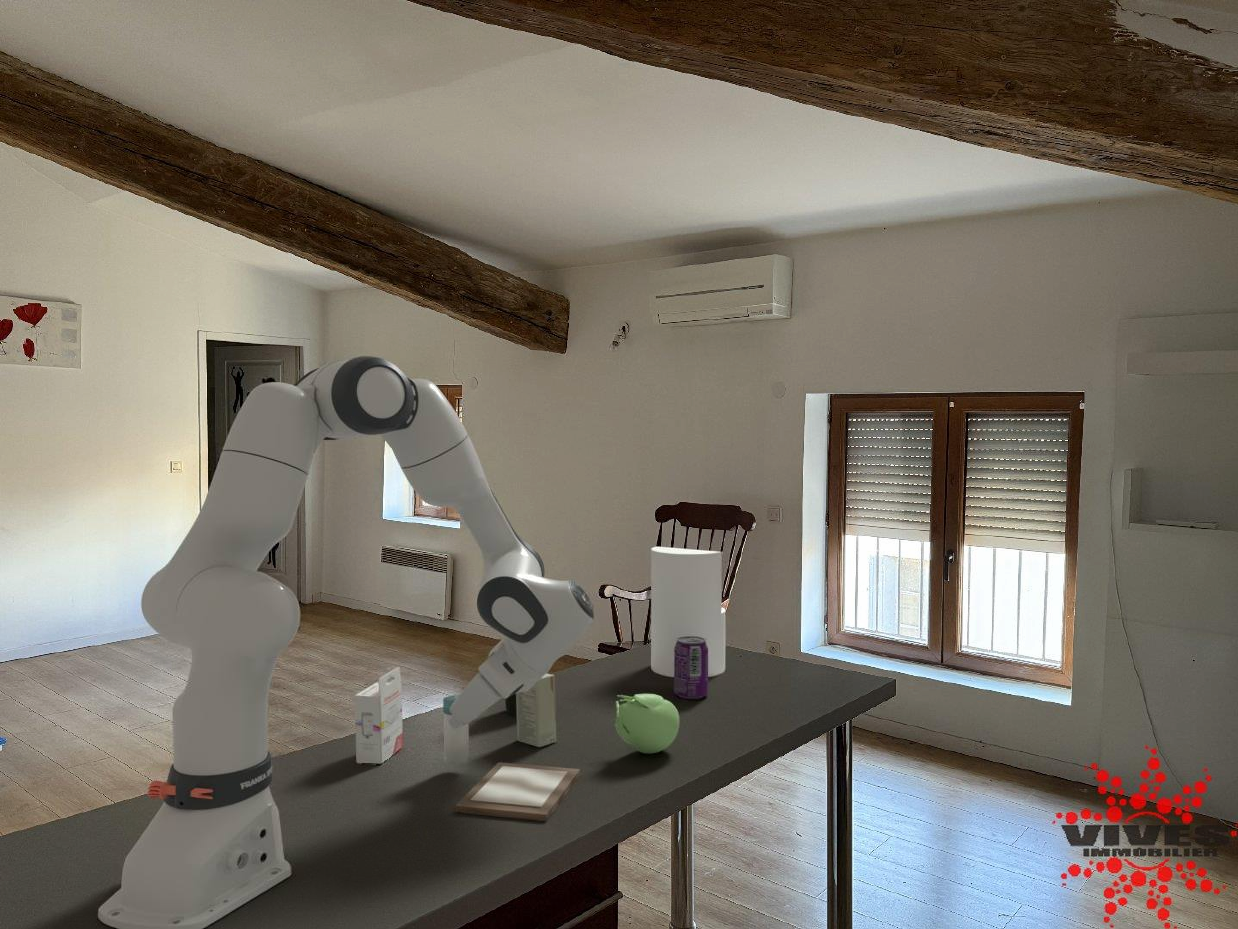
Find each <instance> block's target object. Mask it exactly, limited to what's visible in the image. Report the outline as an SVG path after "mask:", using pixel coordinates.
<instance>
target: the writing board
mask: <svg viewBox="0 0 1238 929" xmlns="http://www.w3.org/2000/svg"><path fill="white" fill-rule="evenodd" d="M580 776H581V769H580V768H579V769H578V768H568V767H559V766H545V765H534V764H523V763H521V764H520V763H509V762H500V761H498V762H497V763H496V764H495V765H494V766H493V767H492V768H491V769H490V770H489V771H488V772H487V773H486V774H485V775H484V776H483V777H482V778H481V779H480V781H478V782H477V783H476V784H475V785H474V786H473V787H472V789H470V791H469V792H467V794H465V795H464V796H463V798H461V799H460V800H459V801H458V803H457V804H455V806H454V807H455V810H454V812H455V813H457V812H460V813H459V814H467V815H477V816H488V817H498V818H500V817H501V818H510V819H517V820H527V821H528V820H531V821H538V822H539V821H541V822H547V821H548V820H549V819H550V818H551V816H552V815H553V813H554V812H555V811H556V809H557V808H558V807H559V805H560V804H561V802H562V801H563V799H564V798H565V797H566V795H567V794H568V793H569V792H570V789H572V787H573V786H574V785H575V783H576V782H577V780H578V779H579V778H580ZM468 813H469V814H468Z"/></svg>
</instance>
